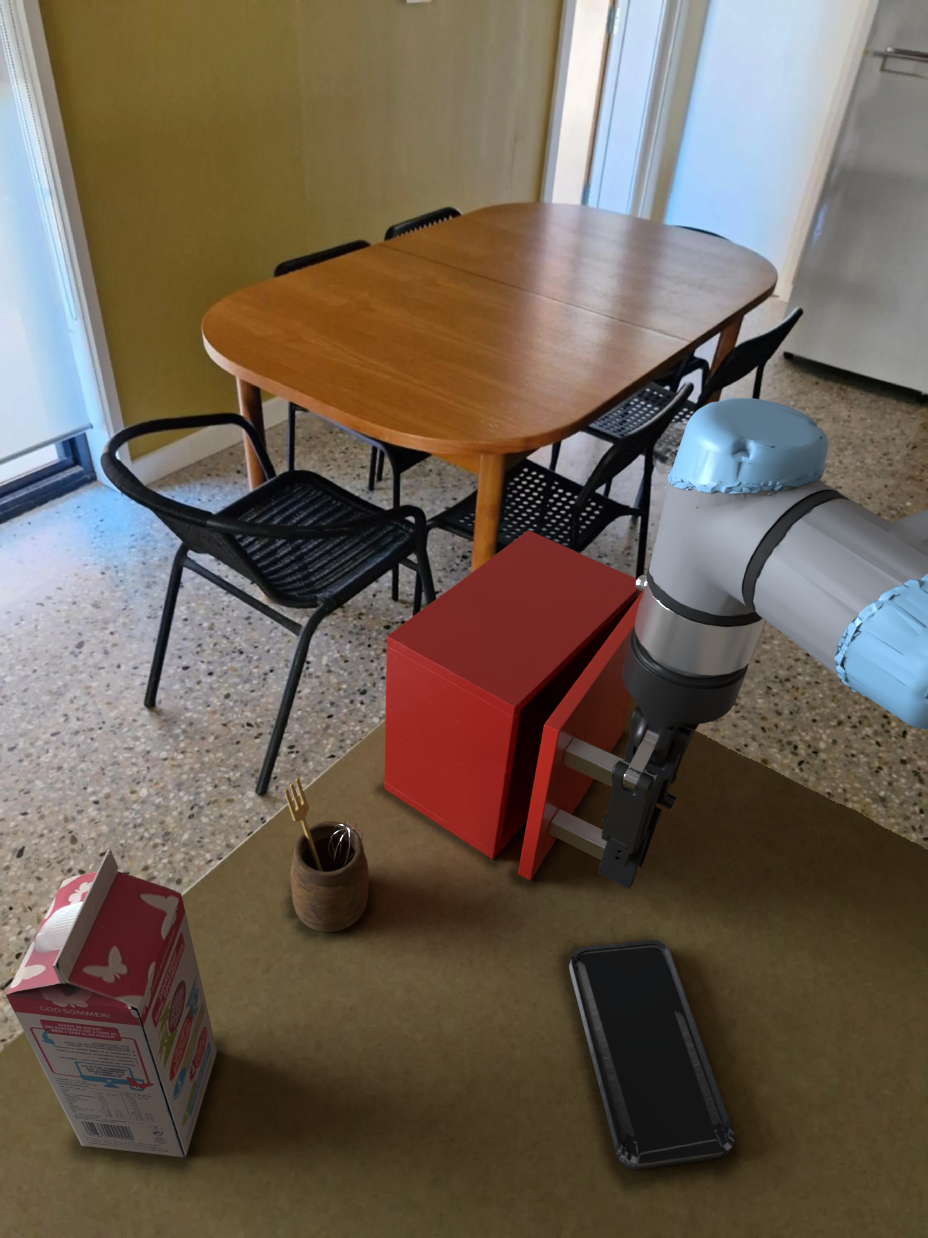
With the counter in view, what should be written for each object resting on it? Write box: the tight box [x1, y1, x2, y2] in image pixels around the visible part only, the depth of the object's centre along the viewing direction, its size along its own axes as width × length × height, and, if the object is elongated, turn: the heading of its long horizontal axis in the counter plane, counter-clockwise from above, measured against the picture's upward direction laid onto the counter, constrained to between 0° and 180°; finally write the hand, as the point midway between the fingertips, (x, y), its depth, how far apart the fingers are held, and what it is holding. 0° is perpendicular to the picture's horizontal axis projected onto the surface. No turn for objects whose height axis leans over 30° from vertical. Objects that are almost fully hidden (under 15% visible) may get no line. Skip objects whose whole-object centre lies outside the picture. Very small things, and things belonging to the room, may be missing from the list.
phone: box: [568, 939, 735, 1171], centre depth 62 cm, size 8×1×15 cm
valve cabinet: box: [383, 529, 642, 860], centre depth 78 cm, size 12×20×18 cm, turn 143°
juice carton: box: [5, 848, 218, 1158], centre depth 51 cm, size 7×7×22 cm
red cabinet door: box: [517, 591, 643, 881], centre depth 73 cm, size 8×20×18 cm, turn 150°
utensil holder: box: [283, 777, 370, 933], centre depth 67 cm, size 6×6×12 cm
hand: (621, 866), depth 71 cm, fingers closed on red cabinet door, 2 cm apart
